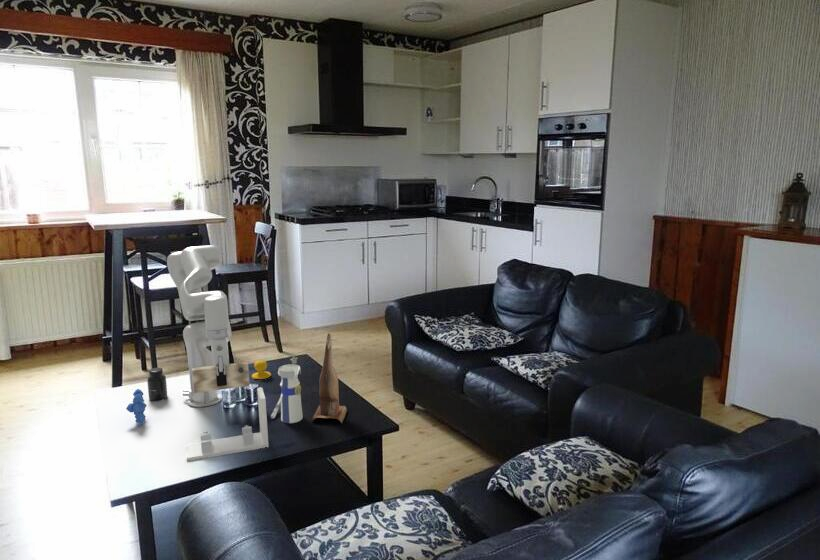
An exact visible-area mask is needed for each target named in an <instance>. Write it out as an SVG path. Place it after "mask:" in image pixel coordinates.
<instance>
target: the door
mask: <svg viewBox="0 0 820 560" xmlns="http://www.w3.org/2000/svg"><path fill="white" fill-rule="evenodd" d="M223 365H224V364H223ZM217 366H219V365H217ZM249 371H250V370H249V363H248V361H240V362H234V363H229V366H228V367H227V366H225V374H226V378H227V385H225V386H217V378H216V375H217V368H215V367H214V366H207V367H198V368H192V373H193V384H194V393H199V392H206V391H214V390H217V391H221V390H226V389H227V390H229V389H235V388H236V389H237V388H242V387H250V374H249V373H250V372H249Z"/></svg>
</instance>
